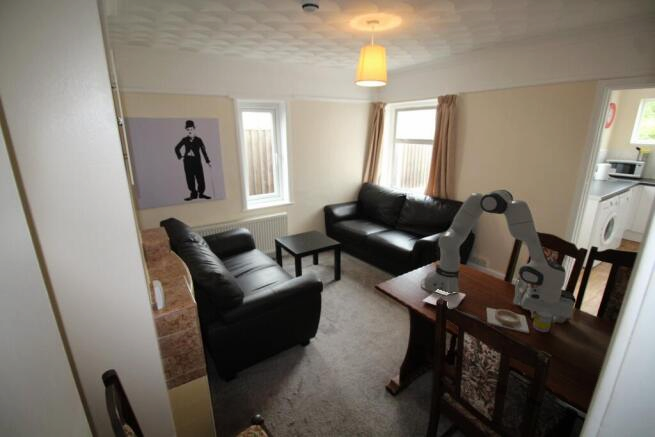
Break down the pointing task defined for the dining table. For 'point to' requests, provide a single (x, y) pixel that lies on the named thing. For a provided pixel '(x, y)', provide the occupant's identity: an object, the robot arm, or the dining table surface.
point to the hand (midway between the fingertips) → (542, 319)
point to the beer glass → (520, 290)
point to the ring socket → (507, 319)
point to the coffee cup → (568, 296)
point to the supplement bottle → (542, 320)
